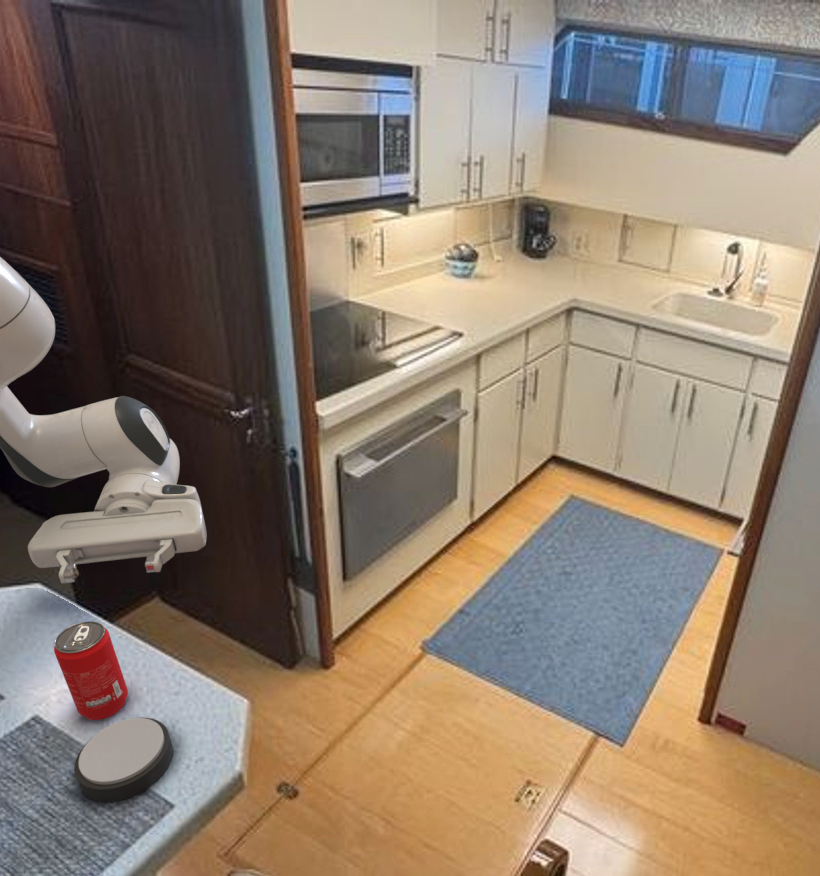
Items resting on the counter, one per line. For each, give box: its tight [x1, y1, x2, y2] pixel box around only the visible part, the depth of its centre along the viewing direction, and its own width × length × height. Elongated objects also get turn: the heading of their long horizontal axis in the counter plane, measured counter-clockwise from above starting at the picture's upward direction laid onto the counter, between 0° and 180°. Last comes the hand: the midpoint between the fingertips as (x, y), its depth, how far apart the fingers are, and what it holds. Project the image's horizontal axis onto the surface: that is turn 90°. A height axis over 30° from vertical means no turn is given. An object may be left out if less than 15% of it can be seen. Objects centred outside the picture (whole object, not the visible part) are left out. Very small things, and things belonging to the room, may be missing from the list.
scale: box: [73, 716, 174, 803], centre depth 78 cm, size 9×9×3 cm
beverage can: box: [53, 620, 129, 722], centre depth 82 cm, size 5×5×12 cm
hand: (110, 574), depth 89 cm, fingers open, 8 cm apart
